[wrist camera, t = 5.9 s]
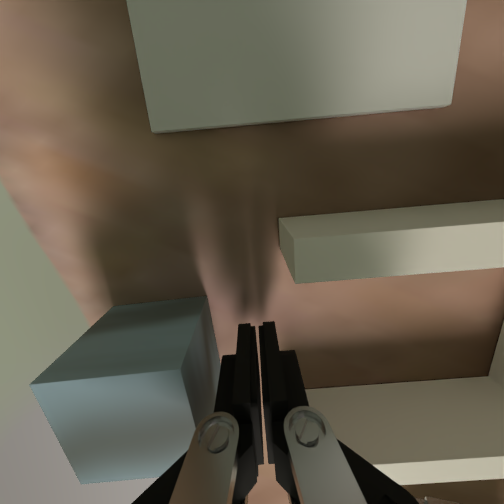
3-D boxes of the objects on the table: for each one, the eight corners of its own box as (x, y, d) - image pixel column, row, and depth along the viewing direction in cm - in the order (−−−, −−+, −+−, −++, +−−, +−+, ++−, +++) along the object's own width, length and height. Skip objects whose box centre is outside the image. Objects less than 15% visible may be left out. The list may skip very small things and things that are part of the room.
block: (114, 305, 12) (29, 384, 8) (207, 295, 12) (179, 369, 7) (139, 379, 14) (81, 483, 9) (222, 370, 14) (207, 472, 9)
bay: (278, 217, 11) (293, 239, 7) (571, 193, 11) (750, 201, 7) (287, 409, 14) (301, 491, 11) (507, 393, 14) (601, 472, 10)
